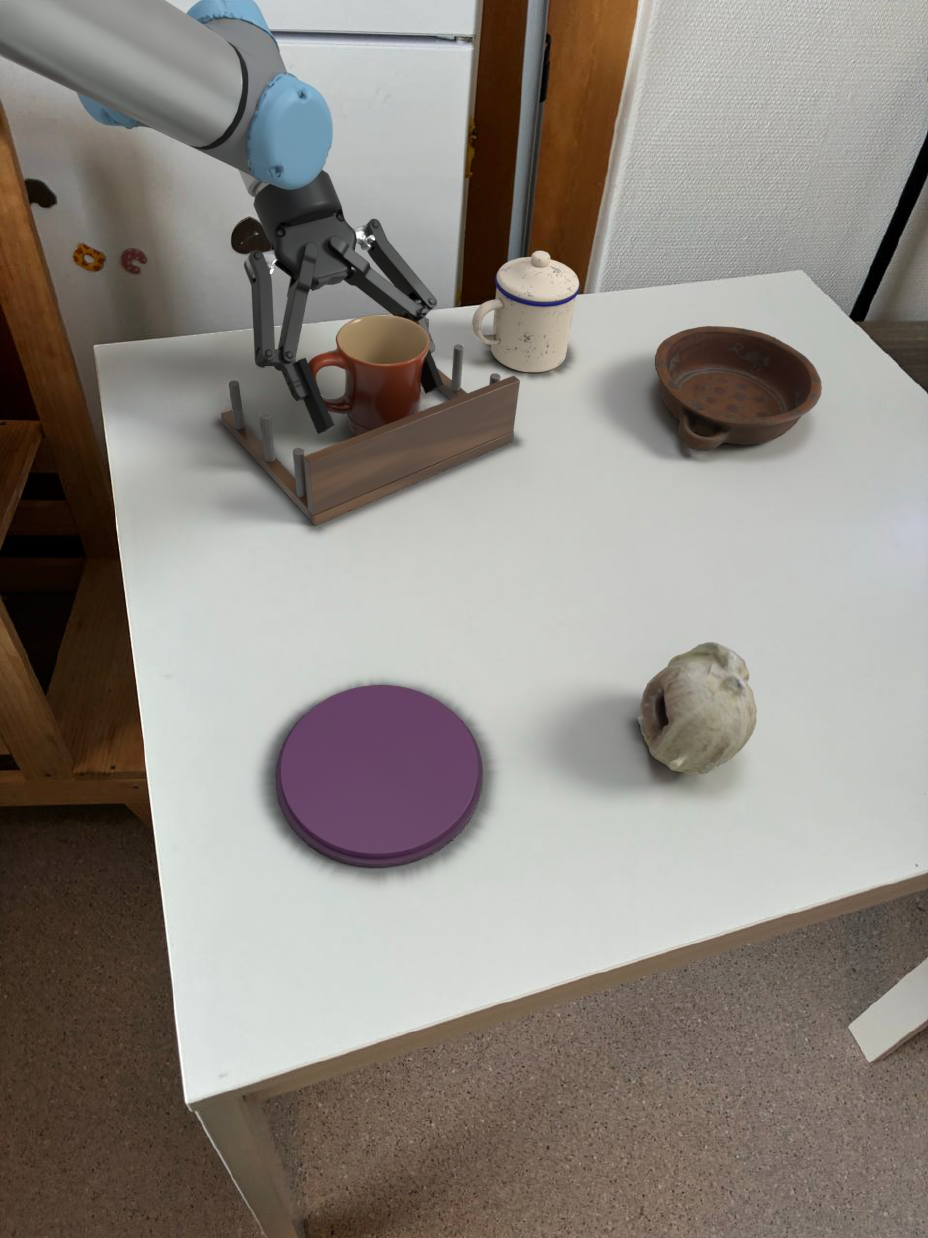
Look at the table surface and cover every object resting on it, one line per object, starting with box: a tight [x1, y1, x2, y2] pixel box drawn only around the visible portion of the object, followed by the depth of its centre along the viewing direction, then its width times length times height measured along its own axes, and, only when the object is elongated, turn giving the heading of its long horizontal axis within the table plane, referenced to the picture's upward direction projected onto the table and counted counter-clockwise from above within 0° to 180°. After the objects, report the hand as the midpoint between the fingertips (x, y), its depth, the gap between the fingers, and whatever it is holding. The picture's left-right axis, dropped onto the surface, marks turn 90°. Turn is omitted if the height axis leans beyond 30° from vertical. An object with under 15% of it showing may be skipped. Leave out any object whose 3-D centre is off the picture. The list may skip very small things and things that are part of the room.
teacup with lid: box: [471, 250, 581, 373], centre depth 98 cm, size 12×9×12 cm
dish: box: [654, 325, 823, 452], centre depth 96 cm, size 18×22×5 cm
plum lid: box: [274, 684, 484, 868], centre depth 65 cm, size 15×15×1 cm
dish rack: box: [220, 317, 521, 526], centre depth 88 cm, size 18×23×7 cm
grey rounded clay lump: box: [637, 641, 758, 777], centre depth 65 cm, size 9×8×10 cm
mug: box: [307, 314, 430, 437], centre depth 87 cm, size 12×9×10 cm
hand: (382, 409), depth 87 cm, fingers closed on mug, 12 cm apart
